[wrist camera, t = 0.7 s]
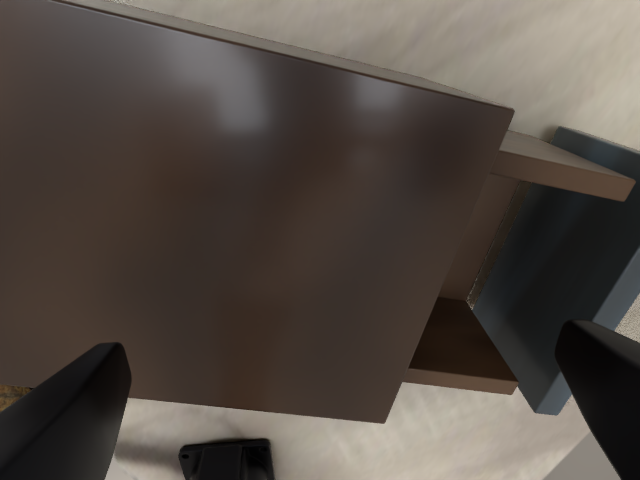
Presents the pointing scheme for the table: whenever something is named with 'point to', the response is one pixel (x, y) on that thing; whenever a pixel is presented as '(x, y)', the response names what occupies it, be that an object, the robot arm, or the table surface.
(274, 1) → the table surface
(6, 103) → the cabinet
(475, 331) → the drawer
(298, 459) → the table surface
